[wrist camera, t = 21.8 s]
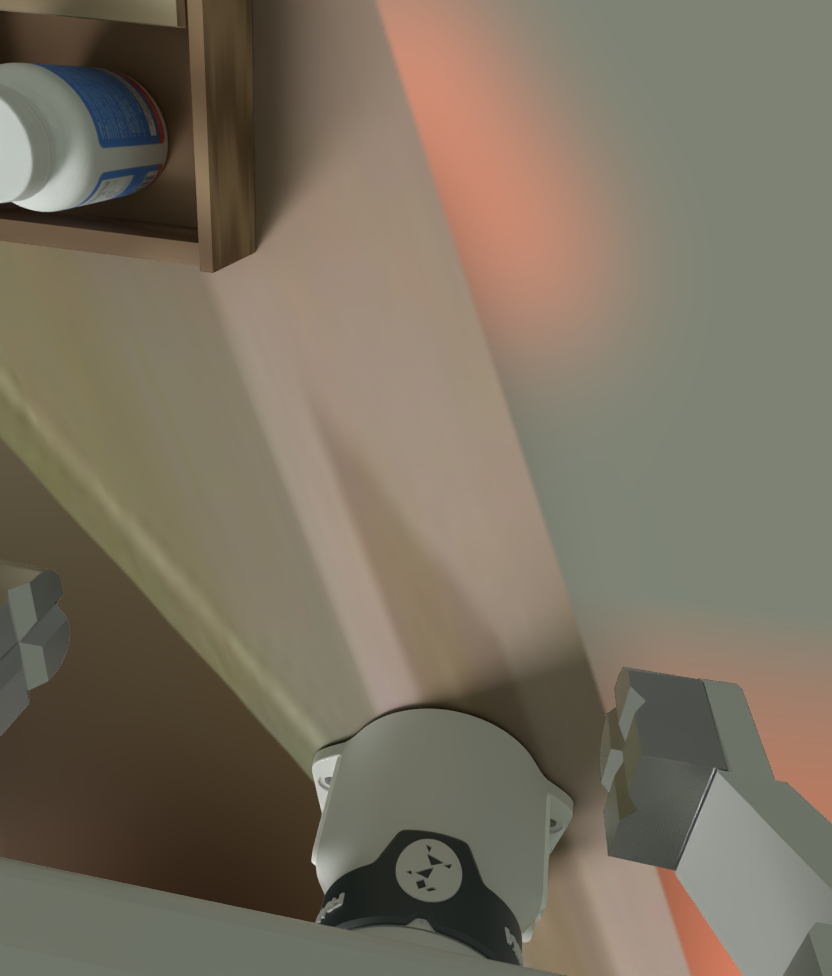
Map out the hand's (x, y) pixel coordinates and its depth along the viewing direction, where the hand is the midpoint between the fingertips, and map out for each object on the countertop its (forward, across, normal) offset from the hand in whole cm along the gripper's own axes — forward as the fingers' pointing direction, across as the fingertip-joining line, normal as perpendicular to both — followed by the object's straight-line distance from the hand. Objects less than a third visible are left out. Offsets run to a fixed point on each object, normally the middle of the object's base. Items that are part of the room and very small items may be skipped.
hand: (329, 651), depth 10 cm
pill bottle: (+28, +18, -4) cm, 34 cm away
